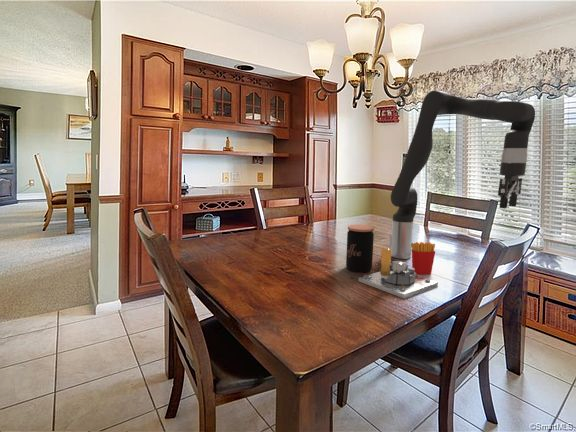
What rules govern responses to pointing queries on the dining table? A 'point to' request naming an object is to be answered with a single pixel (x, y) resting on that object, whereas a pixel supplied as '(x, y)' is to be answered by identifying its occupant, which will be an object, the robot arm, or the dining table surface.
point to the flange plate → (398, 289)
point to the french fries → (423, 257)
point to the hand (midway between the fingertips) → (507, 207)
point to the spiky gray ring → (389, 275)
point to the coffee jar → (359, 248)
